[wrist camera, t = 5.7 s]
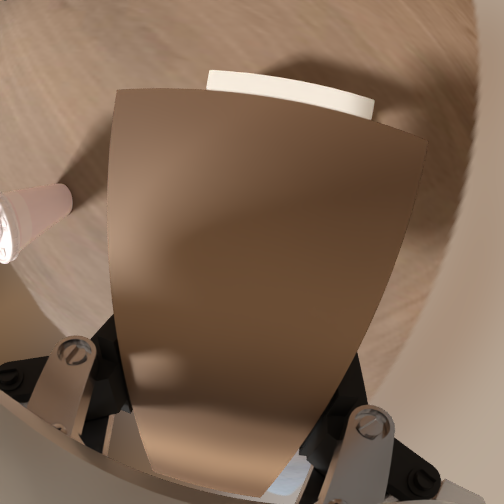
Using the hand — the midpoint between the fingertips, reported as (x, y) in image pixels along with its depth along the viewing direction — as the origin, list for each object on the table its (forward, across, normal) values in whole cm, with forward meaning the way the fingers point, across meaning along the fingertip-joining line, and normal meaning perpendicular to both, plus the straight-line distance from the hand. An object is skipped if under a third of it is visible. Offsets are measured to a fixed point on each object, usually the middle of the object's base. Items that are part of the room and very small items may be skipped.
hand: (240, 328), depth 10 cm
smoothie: (+14, +22, +2) cm, 26 cm away
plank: (+1, 0, 0) cm, 1 cm away
